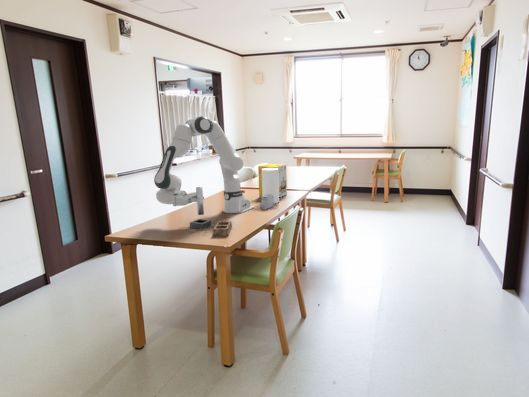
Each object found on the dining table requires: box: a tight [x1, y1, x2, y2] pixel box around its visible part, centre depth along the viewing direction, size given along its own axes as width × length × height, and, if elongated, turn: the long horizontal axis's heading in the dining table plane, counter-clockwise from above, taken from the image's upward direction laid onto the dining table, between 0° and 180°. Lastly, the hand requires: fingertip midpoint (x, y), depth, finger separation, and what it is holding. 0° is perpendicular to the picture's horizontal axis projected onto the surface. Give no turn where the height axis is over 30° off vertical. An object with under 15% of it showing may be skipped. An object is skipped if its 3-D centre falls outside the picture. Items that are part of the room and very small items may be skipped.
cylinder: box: [262, 168, 280, 204], centre depth 280 cm, size 12×12×25 cm
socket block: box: [189, 218, 213, 230], centre depth 225 cm, size 9×9×3 cm
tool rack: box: [212, 221, 233, 237], centre depth 211 cm, size 8×15×4 cm, turn 178°
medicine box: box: [260, 195, 274, 210], centre depth 265 cm, size 8×4×9 cm, turn 141°
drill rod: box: [195, 186, 205, 216], centre depth 220 cm, size 4×4×16 cm
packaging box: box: [257, 163, 288, 198], centre depth 301 cm, size 16×16×25 cm
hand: (201, 199), depth 219 cm, fingers closed on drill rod, 4 cm apart
